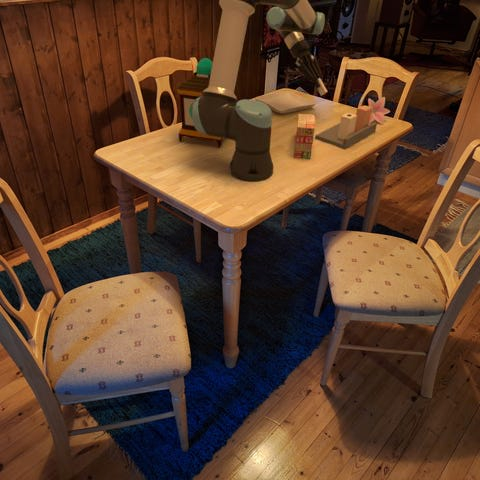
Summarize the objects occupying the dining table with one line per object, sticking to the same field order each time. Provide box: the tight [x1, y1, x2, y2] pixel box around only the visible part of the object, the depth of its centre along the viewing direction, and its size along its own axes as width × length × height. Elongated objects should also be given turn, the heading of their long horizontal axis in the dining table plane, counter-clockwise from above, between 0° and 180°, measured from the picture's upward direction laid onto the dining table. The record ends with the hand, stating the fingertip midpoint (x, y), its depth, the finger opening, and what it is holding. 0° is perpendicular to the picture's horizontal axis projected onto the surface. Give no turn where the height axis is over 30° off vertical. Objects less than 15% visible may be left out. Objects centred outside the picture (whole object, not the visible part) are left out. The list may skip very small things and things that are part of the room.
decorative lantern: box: [176, 57, 224, 149], centre depth 159 cm, size 20×20×30 cm
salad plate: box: [254, 90, 316, 115], centre depth 197 cm, size 21×21×3 cm
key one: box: [338, 112, 357, 140], centre depth 163 cm, size 5×4×9 cm
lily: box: [367, 96, 391, 126], centre depth 184 cm, size 12×12×10 cm
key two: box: [354, 105, 372, 131], centre depth 170 cm, size 5×4×9 cm
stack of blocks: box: [293, 113, 316, 160], centre depth 159 cm, size 21×6×12 cm, turn 172°
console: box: [314, 121, 378, 150], centre depth 171 cm, size 24×14×4 cm, turn 137°
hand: (324, 93), depth 177 cm, fingers closed
